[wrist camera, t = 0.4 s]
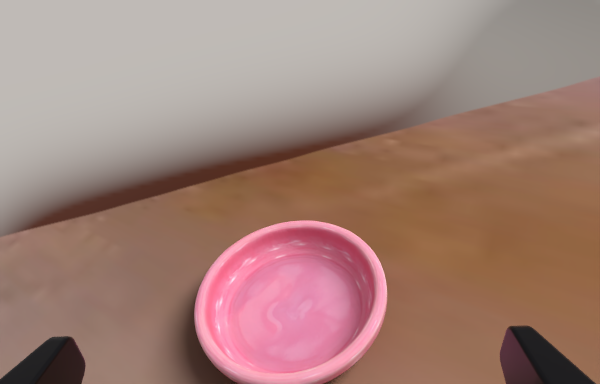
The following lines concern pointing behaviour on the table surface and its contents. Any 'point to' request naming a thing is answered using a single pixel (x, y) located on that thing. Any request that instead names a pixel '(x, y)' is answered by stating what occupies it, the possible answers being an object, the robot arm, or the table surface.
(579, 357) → the table surface
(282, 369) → the saucer
